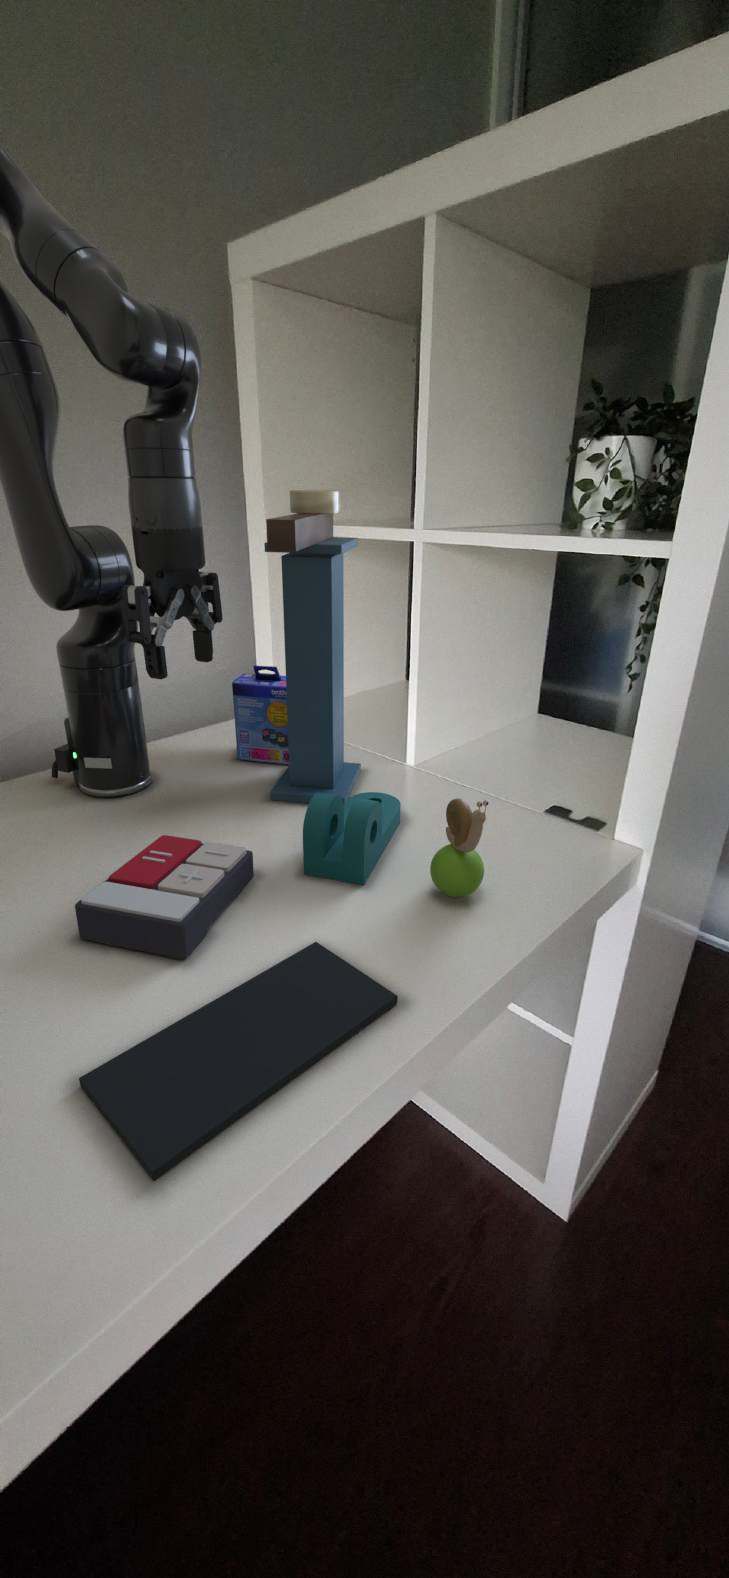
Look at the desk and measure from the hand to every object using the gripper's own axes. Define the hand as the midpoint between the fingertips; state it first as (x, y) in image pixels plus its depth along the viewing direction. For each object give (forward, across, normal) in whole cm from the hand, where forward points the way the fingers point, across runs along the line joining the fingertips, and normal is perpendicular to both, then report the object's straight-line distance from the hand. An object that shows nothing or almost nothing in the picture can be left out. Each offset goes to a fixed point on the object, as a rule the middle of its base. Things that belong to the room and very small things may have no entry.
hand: (182, 669), depth 82 cm
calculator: (+18, +19, +12) cm, 29 cm away
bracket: (+18, 0, +23) cm, 29 cm away
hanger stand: (+18, -13, +11) cm, 25 cm away
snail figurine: (+18, +6, +37) cm, 42 cm away
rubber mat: (+18, +32, +29) cm, 46 cm away
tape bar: (-14, -8, +12) cm, 20 cm away
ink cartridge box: (+18, -19, 0) cm, 26 cm away
